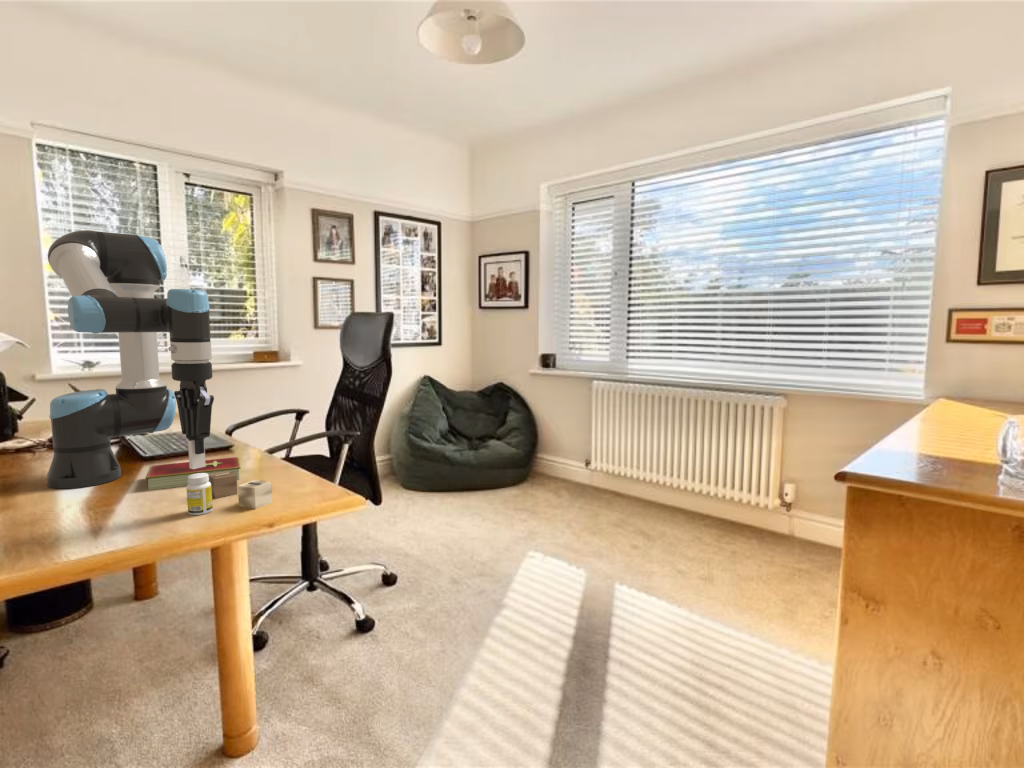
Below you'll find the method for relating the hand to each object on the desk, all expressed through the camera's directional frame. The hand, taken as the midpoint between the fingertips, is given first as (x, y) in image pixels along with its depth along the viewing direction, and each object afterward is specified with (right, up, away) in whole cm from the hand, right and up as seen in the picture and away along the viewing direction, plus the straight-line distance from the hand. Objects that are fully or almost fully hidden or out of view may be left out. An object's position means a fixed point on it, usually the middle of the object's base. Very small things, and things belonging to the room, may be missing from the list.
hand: (197, 467), depth 117 cm
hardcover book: (-15, -8, +25) cm, 30 cm away
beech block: (+10, -10, +6) cm, 15 cm away
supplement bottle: (0, -10, +1) cm, 10 cm away
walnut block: (-1, -9, +13) cm, 16 cm away
